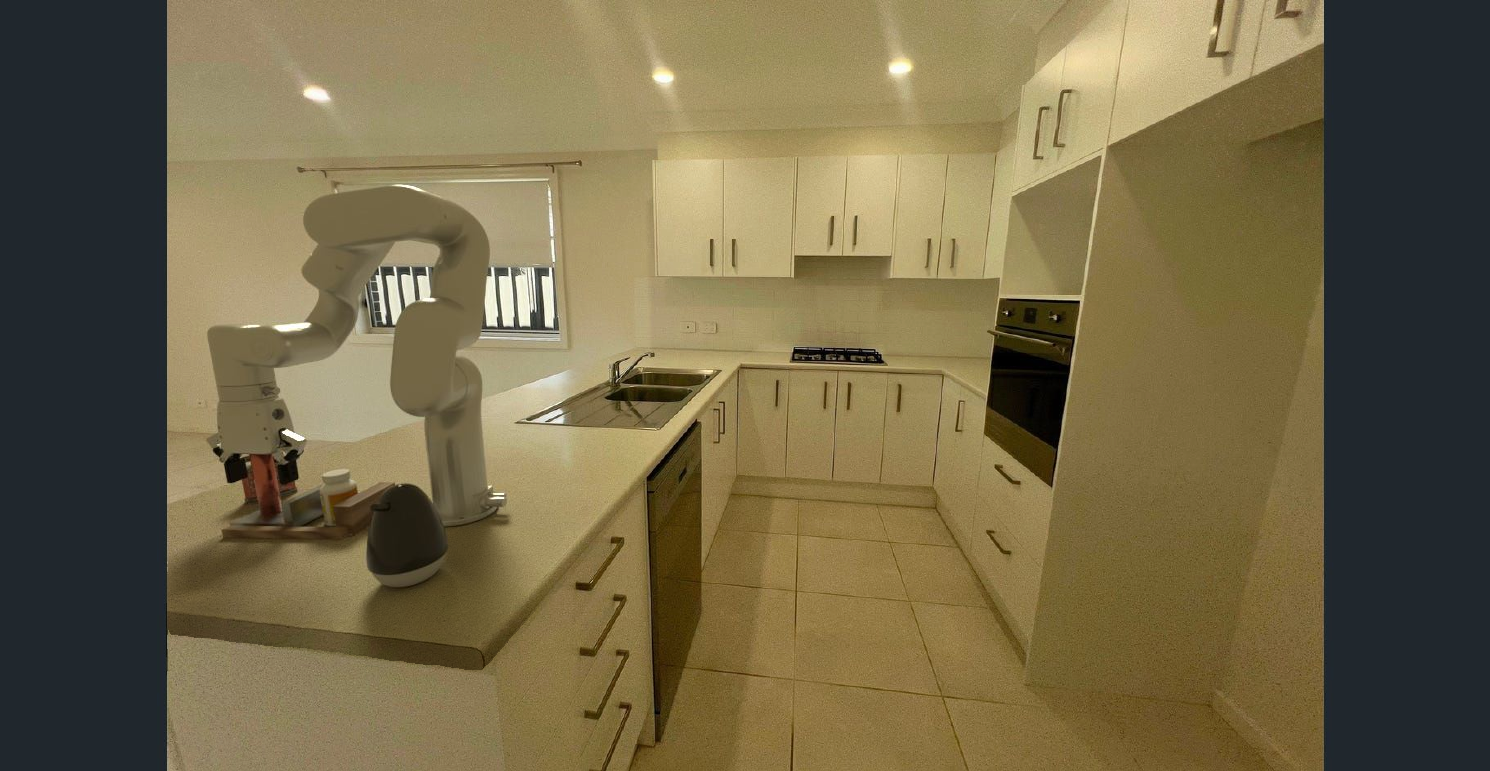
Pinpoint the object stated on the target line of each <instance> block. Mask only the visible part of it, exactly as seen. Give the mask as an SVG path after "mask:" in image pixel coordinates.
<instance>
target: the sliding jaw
mask: <svg viewBox="0 0 1490 771" xmlns="http://www.w3.org/2000/svg"><path fill="white" fill-rule="evenodd" d="M248 455H249V457H250V465H251V467H252V472H253V478H254V483H255V488H256V493H257V498H258V502H257V503H258V508H259V509H258V510H255V511H254V512H251V513H249V514H247V515H244V516H242V517H240V518H238V519H235V520H233V521H231V522H229V526H288V527H303V526H304V525H307V524H308V523H309V522H312V521H314V520H316V519H317V518H319V517H322V516H323V510H322V504H321V498H320V488H321V486H323V485H324V484H325V483H323V484H320V485H318V486H317V487H314V488H313V487H312V489H310V490H307V491H305V492H302V493H300V494H299V495H296V497H295V496H294V498H293V497H291V498H289V499H287V500H285V501H282V499H281V498H282V497H280V492H279V487H278V482H277V476H276V471H275V465H274V460H273V456H272V455H271V454H269V455H259V454H248Z"/></svg>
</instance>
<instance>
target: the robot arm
mask: <svg viewBox="0 0 1490 771" xmlns="http://www.w3.org/2000/svg"><path fill="white" fill-rule="evenodd" d="M302 222H303V227H304V230H305V232H306V233H307V235H308V237H310V239H311V240H312V241H314V242H315V243H316V244H317V245H316V246H315V248H314V250H313V251H312V253H310V255H309V256H308V258H307V260H306V261H305V262H304V263H303V265H302V267H301V276H302V277H303V278H304V280H305V281H306V282H307V283H308V284H310V285H311V286H312V287H313V288H315V289H317V290H318V299H317V301H316V303H315V306H314V307H313V309H312V311H310V313H309V315H308V316H307V317H306V319H305V320H304V321H303V322H291V323H281V324H269V325H260V324H255V323H226V324H216V325H213V326H211V327H209V328H208V330H207V331H206V336H207V341H208V342H207V343H208V347H209V353H210V358H211V363H212V368H213V375H214V379H215V385H216V391H217V396H218V401H217V406H216V407H217V408H216V424H217V425H216V426H217V432H216V433H215V434H212V435H211V436H209V437H207V438H206V442H207V444H208V445H209V446H210V447H211V449H212V452H213V453H214V455H215V456H217V457H218V461H219V462H220V463H221V464H223V467H224V472H225V480H226V482H227V484H234V483H238V482H239V481H242V480H243V479H245V478H247V477H248V473H247V467H246V466H247V464H246V463H247V462H245V458H242V456H243V455H249V454H259V455H269V454H271V455H272V456H273V457H274V458H275V459H277V460H278V461H279V462H280V463H281V464H278V465H277V470H278V476H279V482H280V484H281V485H286V484H288V483H291V482H293V481H295V482H296V481H297V480H299V479H300V477H299V476H300V475H299V470H298V463H297V460H299V459H300V456H302V454H304V452H305V451H304V449H305V447H306V445H307V441H308V440H307V439H306V438H304V437H302V436H300V435H298V434H296V432H295V429H294V424H293V420H292V418H291V417H292V416H291V414H290V412H289V409H288V408H289V407H287V403H286V402H285V400H284V398H283V397H280V395H279V394H280V393H281V388H279V387H278V384H277V378H276V373H275V369H280V368H281V369H282V368H289V367H293V366H298V365H301V364H302V365H303V364H308V363H314V362H319V361H324V360H326V359H328V358H330V357H332V356H333V355H334V354H335V353H337V352H338V350H340V348H341V347H342V346H343V344H344V343H345V341H346V340H347V339H348V338H349V336H350V334H352V333H351V332H353V330H354V328H355V326H356V324H357V322H358V318H359V310H360V300H359V297H360V294H361V293H362V291H363V290H364V288H365V286H366V285H367V284H368V282H369V281H370V280H371V279H372V277H373V275H374V274H375V272H376V271H377V269H378V268H379V267H380V265H381V264H382V262H383V261H384V260H385V258H386V256H387V255H388V254H389V252H390V251H391V250H392V248H393V246H394V245H395V243H396V242H404V241H405V242H406V241H408V242H409V241H410V242H411V241H412V242H417V243H423V244H429V245H434V246H436V247H438V248H439V254H438V257H437V259H436V261H435V263H434V266H433V270H432V274H431V275H432V276H431V288H430V294H429V297H427V298H422V299H419V300H414V301H413V302H411V303H408V305H407V306H406V307H405V308H404V309H403V310H402V311H401V312H400V314H399V316H398V318H397V321H396V323H395V327H394V332H393V343H392V345H393V346H392V356H391V364H390V366H391V367H390V378H389V380H390V381H389V387H390V388H389V389H390V394H391V397H392V400H393V402H394V403H395V405H396V406H397V407H398V408H399V409H400V410H401V411H402V412H404V413H405V414H408V415H410V416H412V417H417V418H424V422H423V425H424V428H423V429H424V431H423V432H424V439H425V449H426V458H427V466H428V474H429V482H430V490H431V499H432V500H431V502H432V503H433V505H434V506H435V508H436V510H437V512H438V514H439V516H440V518H441V521H442V523H443V526H444V527H454V526H460V525H466V524H470V523H473V522H476V521H479V520H481V519H484V518H486V517H488V516H490V515H492V514H493V513H494V512H495V511H496V510H497V508H506V506H507V503H508V499H507V493H505V492H502V493H501V492H498V493H496V492H495V491H494V485H488V477H487V467H486V457H485V447H484V432H483V421H482V418H483V417H482V400H483V399H482V398H483V379H482V375H481V372H480V370H479V368H478V366H477V364H475V363H474V362H473V361H472V360H471V359H470V358H467V357H465V356H463V355H459V354H457V351H459V350H462V349H465V348H469V347H471V346H473V345H474V344H475V343H477V341H478V340H479V338H480V337H481V334H482V331H483V330H482V328H483V318H484V312H485V311H484V310H485V302H486V292H487V280H488V273H489V272H488V271H489V267H490V257H491V256H490V255H491V249H490V248H491V246H490V241H489V237H488V235H487V233H486V232H487V231H486V230H485V228H484V227H483V224H481V222H480V221H479V220H478V219H477V218H476V217H475V215H473V214H472V213H471V212H470V211H468V210H467V209H466V208H464V207H463V206H461V205H459V204H458V203H456V202H453V201H452V200H449V199H448V198H445V197H442V196H440V195H437V194H435V193H431V192H429V191H426V190H424V189H421V188H417V187H415V186H411V185H405V184H404V185H403V184H394V185H393V184H391V185H383V186H376V187H370V188H362V189H356V190H349V191H348V190H347V191H340V192H335V193H329V194H325V195H322V196H320V197H317V198H316V199H314V200H312V201H311V202H310V203H309V204H308V205H307V207H306V208H305V211H304V212H303V218H302ZM281 452H283V454H282V453H281ZM284 453H285V455H284Z"/></svg>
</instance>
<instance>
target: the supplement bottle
mask: <svg viewBox="0 0 1490 771" xmlns="http://www.w3.org/2000/svg"><path fill="white" fill-rule="evenodd" d="M321 479H322V482H323V484H324V485H323V486H321V488H320V498H321V504H322V510H323V515H322V516H323V521H324V525H326V527H336V522H335V516H334V509H333V506H335V505H337V504H339V503H341V502H343V501H345V500H347V499H348V498H350V497H352V496H354V495H356V494H358V493H359V492H358V491H359V490H358V485H357V484H358V483H357V482H356V481H355V480H353V479H351V471H350V469H347V468H342V469H341V468H339V469H333V470H329V471H326V472H324V473H323V474H322V475H321Z"/></svg>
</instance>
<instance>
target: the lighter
mask: <svg viewBox="0 0 1490 771" xmlns="http://www.w3.org/2000/svg"><path fill="white" fill-rule="evenodd" d="M281 453H282V454H283V455H284V451H283V452H281ZM241 458H245V462H246V463H249V462H250V457H249V454H245V455H242V456H241ZM273 460H274V465H275V471H276V476H277V482H278V487H279V492H280V498H282V496H283V497H285V496H289V495H293V494H296V493H297V492H299V491H298V487H297V486H296V480H295V481H293V482H291V483H288V484H286V485H281V484H280V482H279V476H278V470H277V465H278V464H281V463H280V462H279V461H278V460H277V459H276V458H275V457H273ZM250 463H251V462H250ZM246 467H247V473H248V477H247V478H245V479H243V480H241V484H242V488H243V493H244V504H245V503H252V504H256V503H255V502H257V503H258V498H257V493H256V488H255V483H254V478H253V472H252V467H251V464H246Z"/></svg>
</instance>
